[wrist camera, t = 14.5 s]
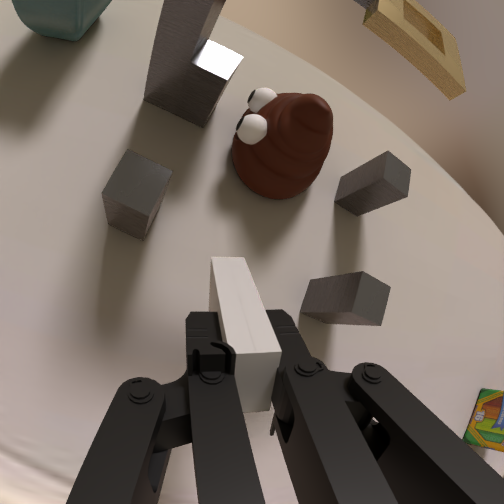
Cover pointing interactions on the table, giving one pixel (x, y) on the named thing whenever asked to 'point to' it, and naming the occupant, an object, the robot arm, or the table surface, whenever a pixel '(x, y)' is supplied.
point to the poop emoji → (282, 142)
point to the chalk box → (487, 421)
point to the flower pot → (60, 16)
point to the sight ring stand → (376, 19)
